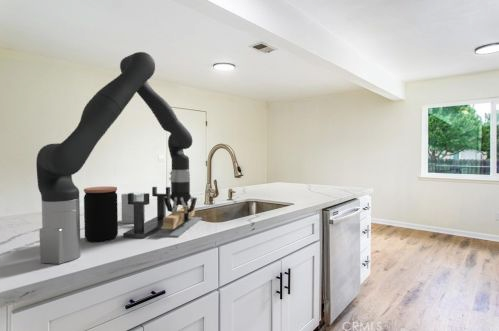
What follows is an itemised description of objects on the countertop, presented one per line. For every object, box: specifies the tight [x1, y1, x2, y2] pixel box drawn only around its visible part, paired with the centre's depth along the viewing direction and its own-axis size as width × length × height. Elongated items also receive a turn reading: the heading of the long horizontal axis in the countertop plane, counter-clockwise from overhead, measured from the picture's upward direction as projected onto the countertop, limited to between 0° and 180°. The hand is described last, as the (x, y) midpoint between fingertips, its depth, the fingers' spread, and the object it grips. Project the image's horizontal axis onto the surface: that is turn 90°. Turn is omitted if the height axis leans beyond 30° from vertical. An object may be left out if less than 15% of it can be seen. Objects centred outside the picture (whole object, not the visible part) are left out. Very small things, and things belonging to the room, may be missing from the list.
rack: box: [122, 186, 171, 239], centre depth 121 cm, size 28×8×16 cm, turn 173°
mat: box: [154, 216, 202, 238], centre depth 124 cm, size 30×9×1 cm, turn 173°
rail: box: [162, 205, 196, 230], centre depth 123 cm, size 26×4×4 cm, turn 173°
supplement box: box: [121, 191, 146, 224], centre depth 132 cm, size 7×7×13 cm
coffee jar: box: [83, 186, 119, 243], centre depth 106 cm, size 11×11×18 cm
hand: (180, 221), depth 123 cm, fingers closed on rail, 4 cm apart
